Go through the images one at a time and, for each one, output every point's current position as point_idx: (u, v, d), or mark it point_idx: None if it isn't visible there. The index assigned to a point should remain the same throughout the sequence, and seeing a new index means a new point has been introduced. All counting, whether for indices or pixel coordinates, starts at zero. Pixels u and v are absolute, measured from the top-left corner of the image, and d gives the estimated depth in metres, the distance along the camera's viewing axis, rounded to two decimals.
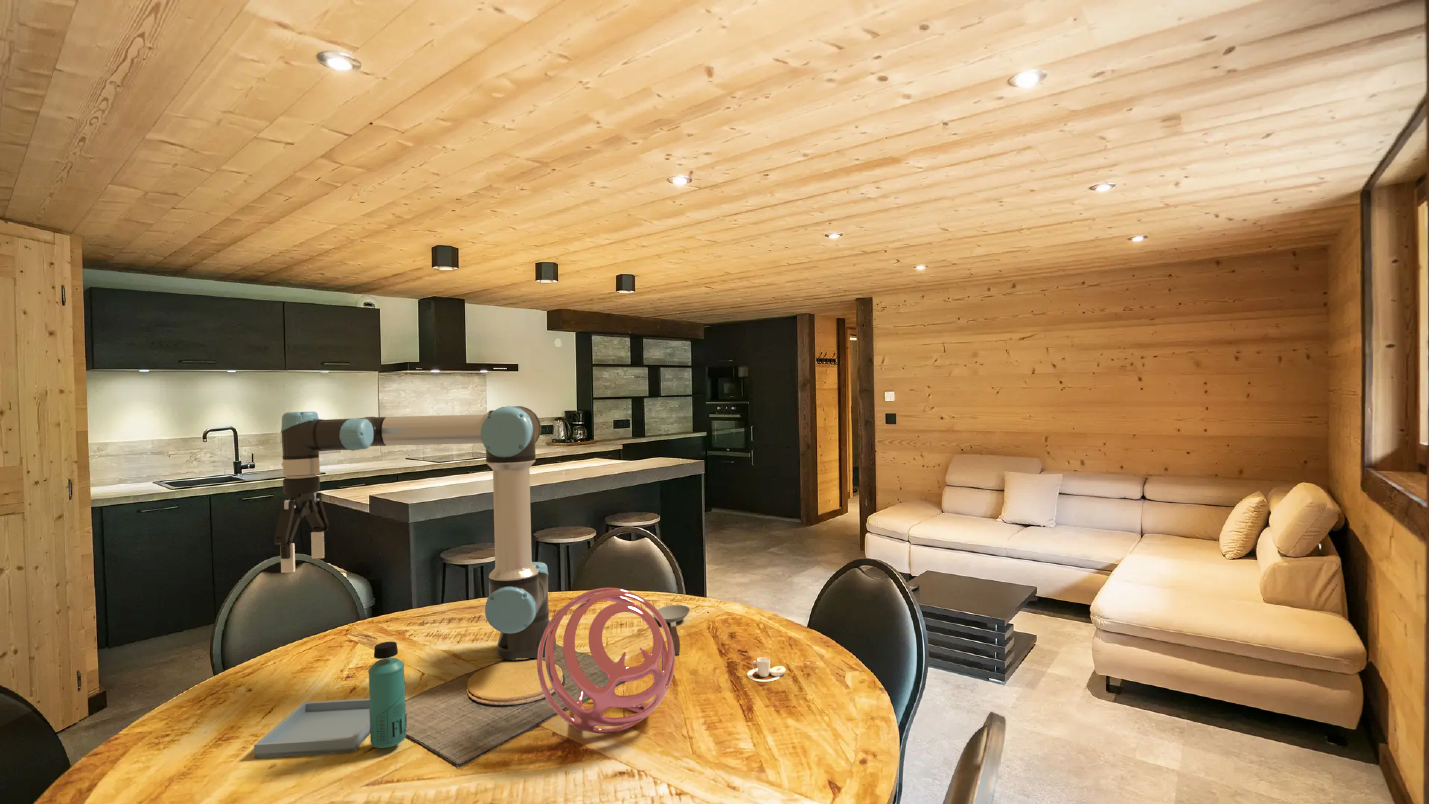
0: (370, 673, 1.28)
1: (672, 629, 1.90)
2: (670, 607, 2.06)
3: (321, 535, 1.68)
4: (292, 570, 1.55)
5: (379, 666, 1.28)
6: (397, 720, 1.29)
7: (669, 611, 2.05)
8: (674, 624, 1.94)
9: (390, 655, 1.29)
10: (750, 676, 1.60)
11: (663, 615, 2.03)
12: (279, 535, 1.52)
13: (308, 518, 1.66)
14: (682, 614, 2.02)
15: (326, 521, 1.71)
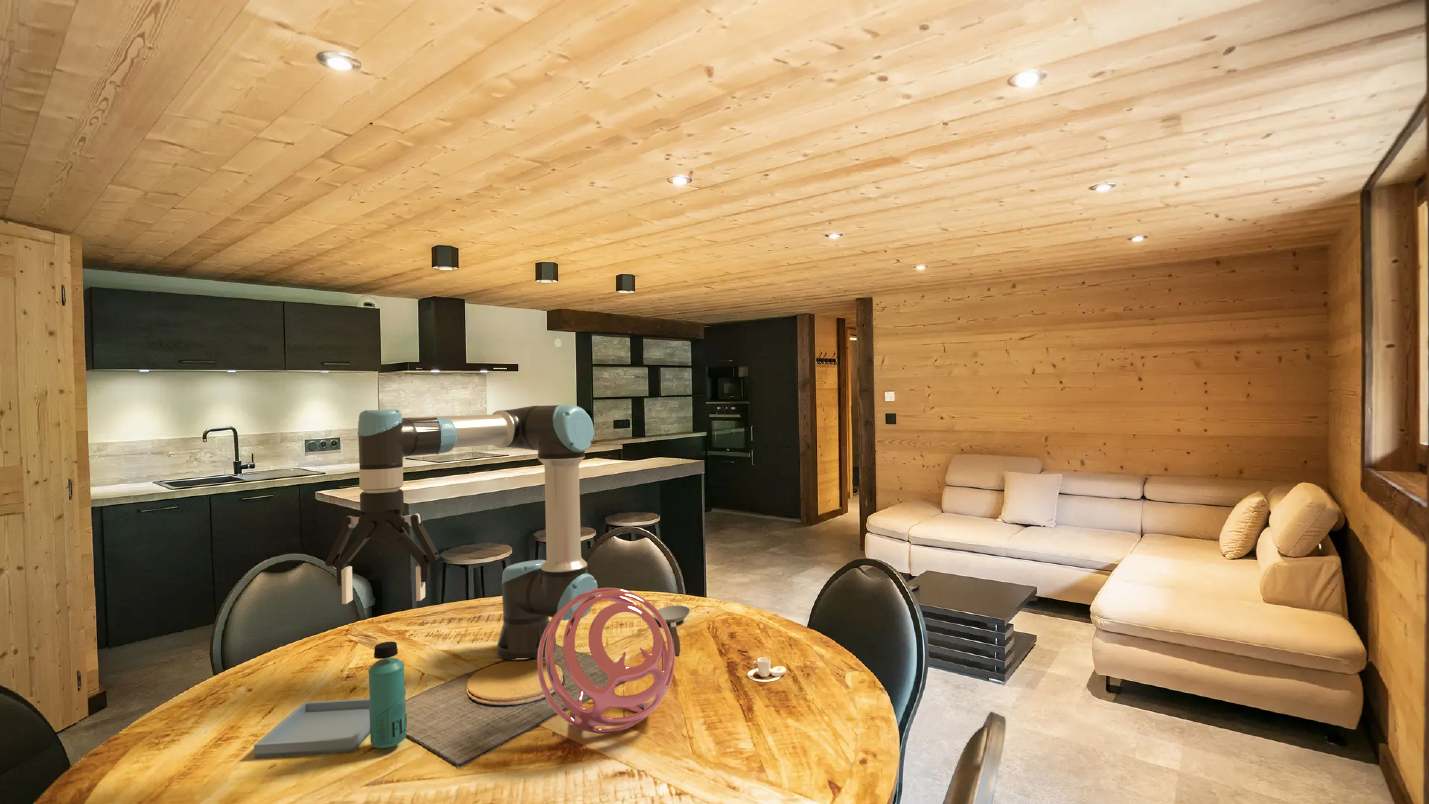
0: (370, 673, 1.28)
1: (672, 630, 1.90)
2: (670, 607, 2.05)
3: None
4: None
5: (379, 666, 1.28)
6: (397, 720, 1.29)
7: (669, 611, 2.04)
8: (674, 625, 1.93)
9: (390, 655, 1.29)
10: (750, 676, 1.60)
11: (663, 615, 2.03)
12: None
13: None
14: (682, 614, 2.02)
15: (430, 554, 1.30)
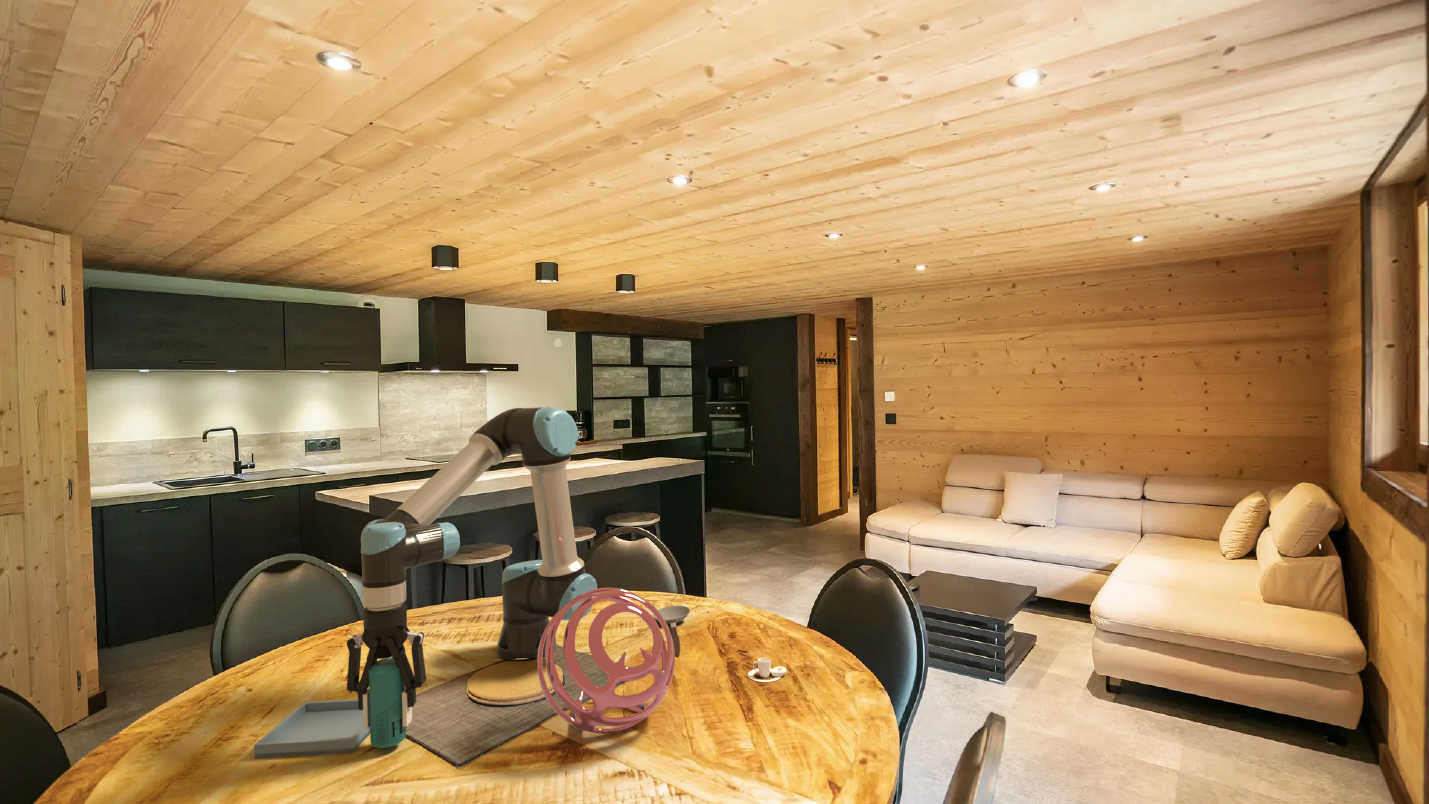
0: (370, 673, 1.28)
1: (672, 630, 1.90)
2: (670, 608, 2.05)
3: None
4: None
5: (379, 666, 1.28)
6: (397, 720, 1.29)
7: (669, 612, 2.04)
8: (674, 625, 1.93)
9: (390, 655, 1.29)
10: (750, 676, 1.59)
11: (663, 616, 2.02)
12: None
13: None
14: (682, 615, 2.02)
15: (418, 679, 1.30)
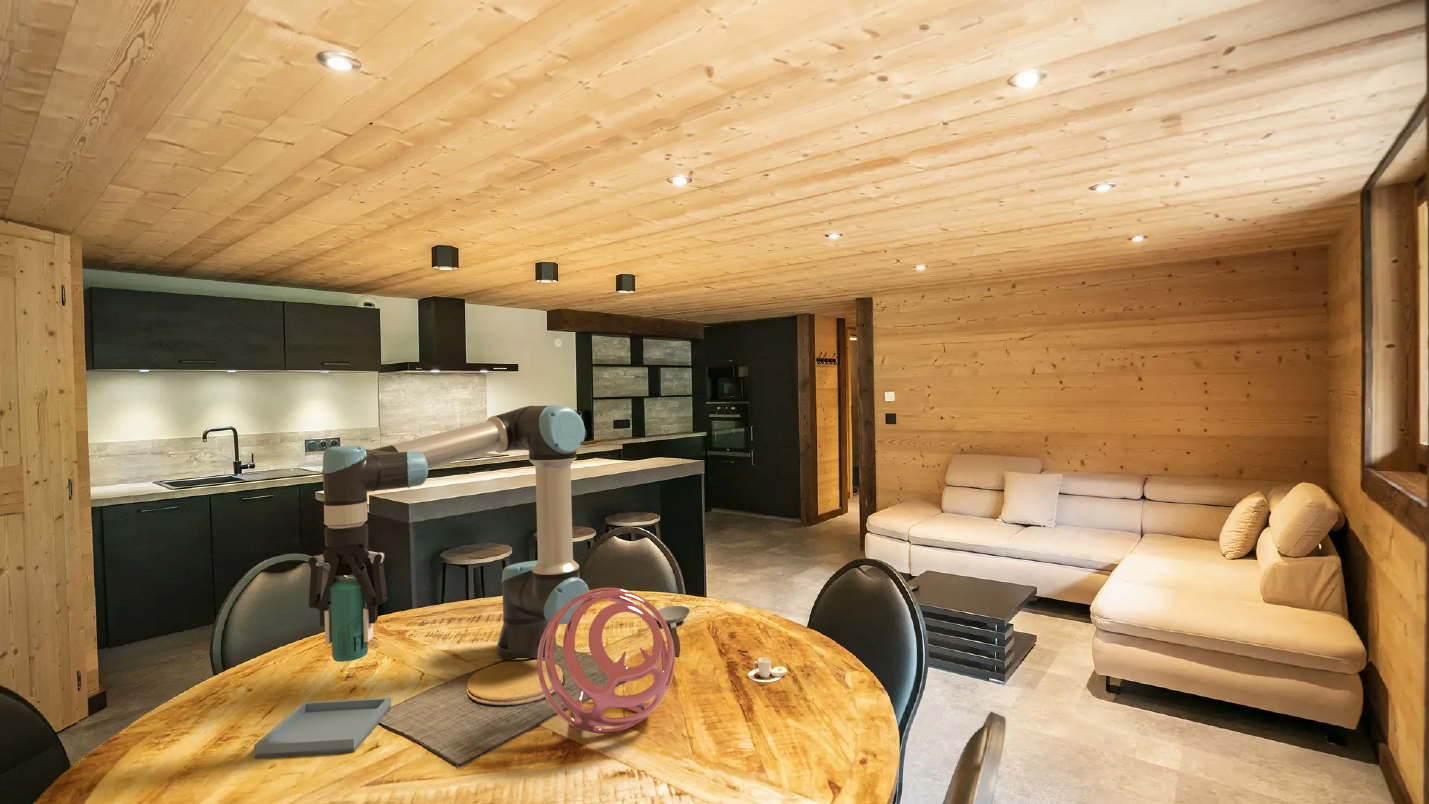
0: (331, 589, 1.32)
1: (672, 630, 1.89)
2: (670, 608, 2.05)
3: None
4: None
5: (340, 583, 1.32)
6: (358, 635, 1.32)
7: (668, 612, 2.04)
8: (674, 625, 1.93)
9: (351, 572, 1.33)
10: (751, 676, 1.59)
11: (663, 616, 2.02)
12: None
13: None
14: (682, 615, 2.02)
15: (379, 596, 1.34)
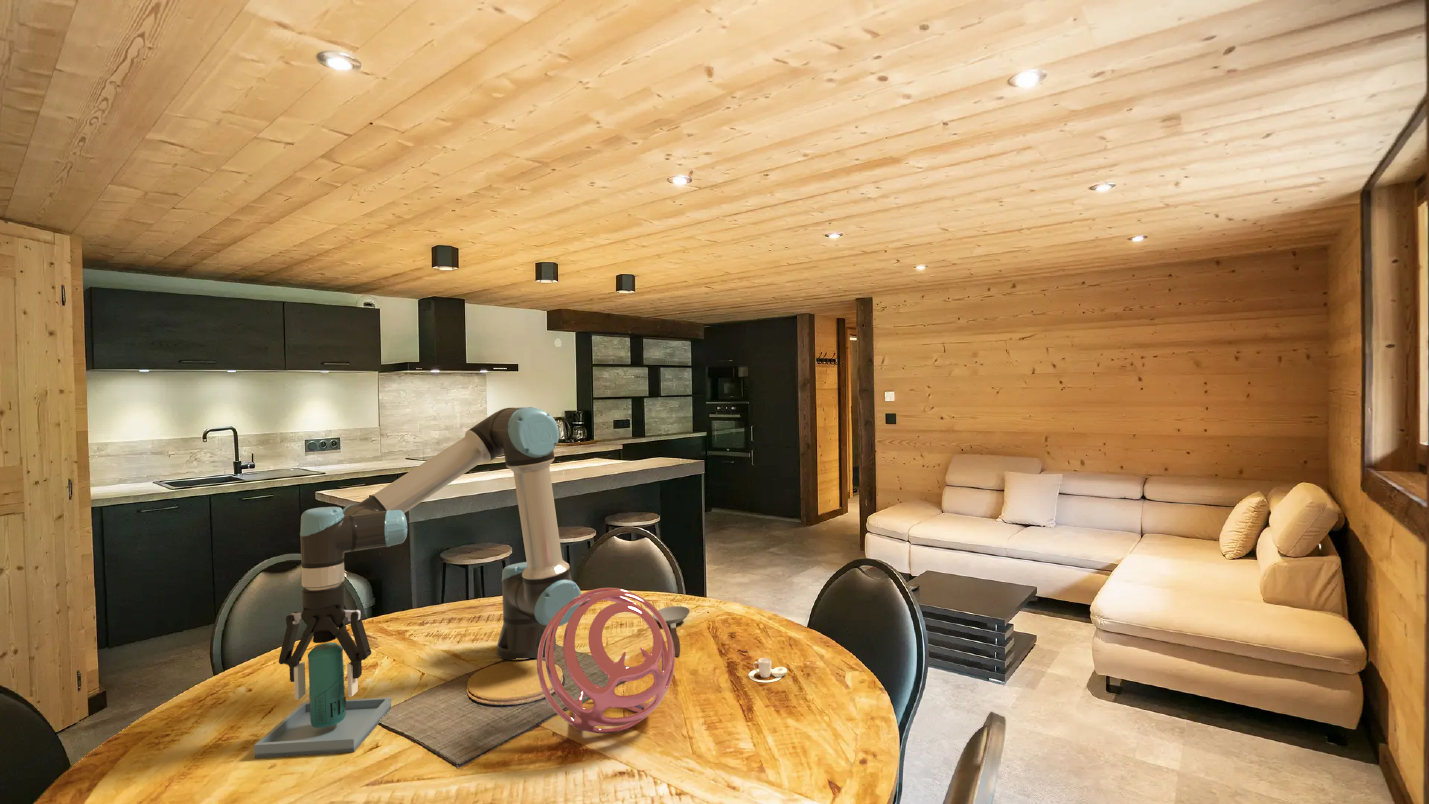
0: (309, 657, 1.35)
1: (672, 630, 1.89)
2: (670, 608, 2.04)
3: None
4: None
5: (317, 650, 1.35)
6: (335, 701, 1.35)
7: (668, 612, 2.04)
8: (674, 625, 1.92)
9: (328, 639, 1.36)
10: (751, 676, 1.59)
11: (663, 616, 2.02)
12: None
13: None
14: (682, 615, 2.01)
15: (361, 652, 1.36)
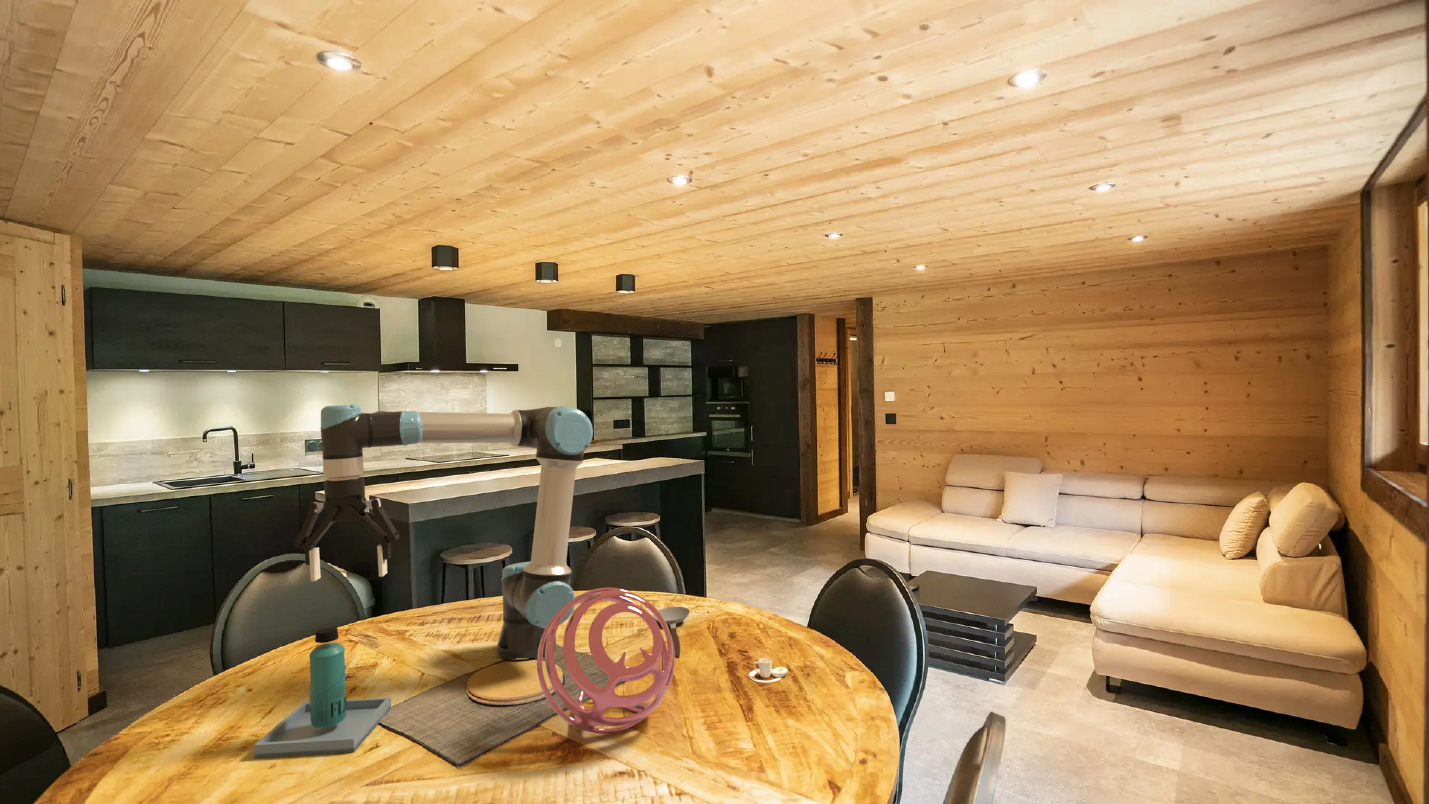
0: (310, 656, 1.35)
1: (672, 631, 1.89)
2: (670, 609, 2.04)
3: None
4: None
5: (319, 650, 1.35)
6: (336, 701, 1.35)
7: (668, 613, 2.03)
8: (674, 626, 1.92)
9: (330, 640, 1.36)
10: (751, 677, 1.59)
11: (663, 617, 2.02)
12: None
13: None
14: (682, 616, 2.01)
15: (390, 535, 1.44)
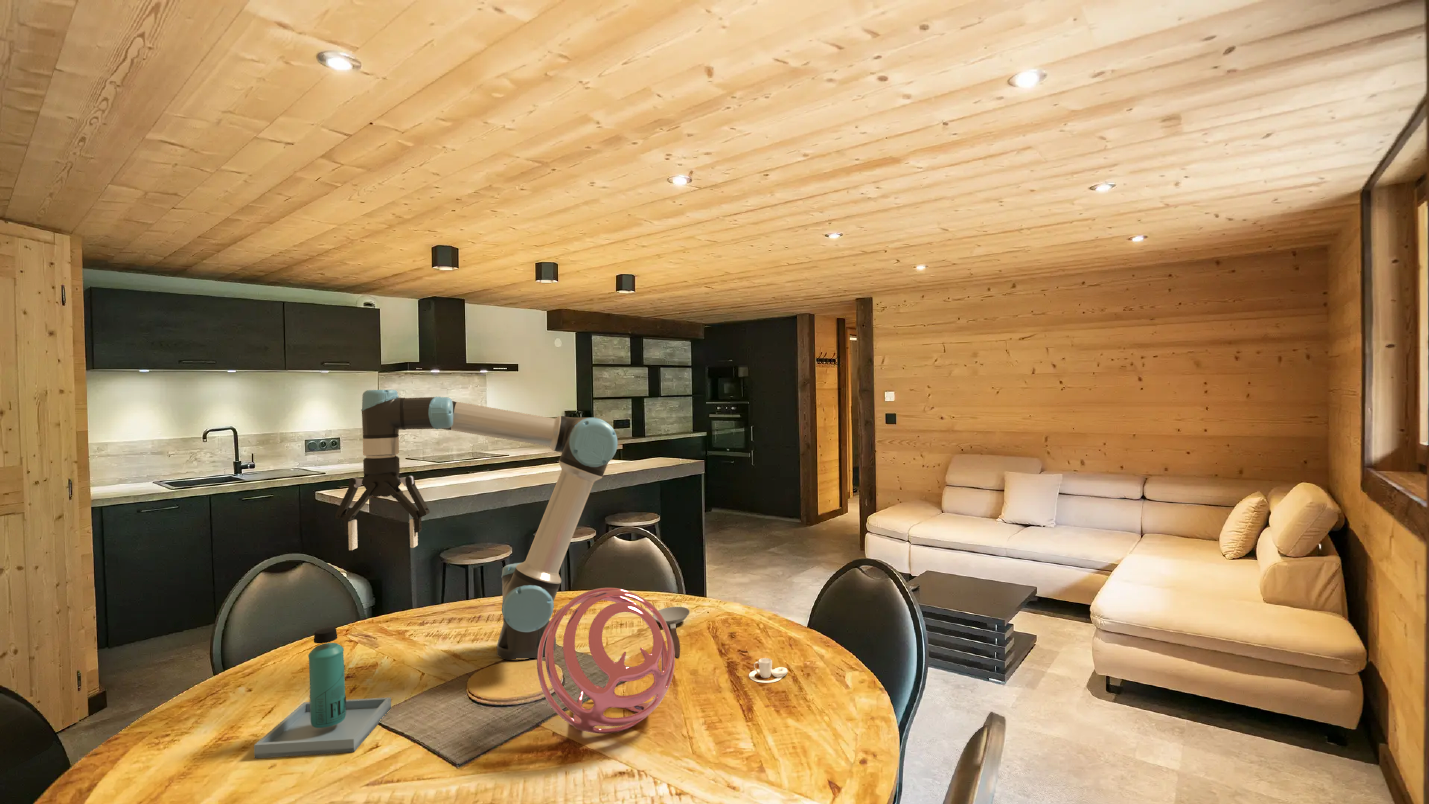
0: (309, 657, 1.35)
1: (672, 631, 1.88)
2: (670, 609, 2.04)
3: None
4: None
5: (318, 650, 1.35)
6: (335, 702, 1.35)
7: (668, 613, 2.03)
8: (674, 626, 1.92)
9: (329, 640, 1.36)
10: (751, 677, 1.59)
11: (663, 617, 2.01)
12: None
13: None
14: (682, 616, 2.01)
15: (421, 509, 1.57)
